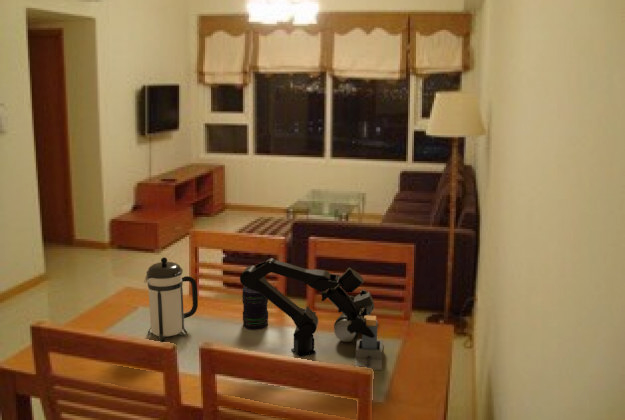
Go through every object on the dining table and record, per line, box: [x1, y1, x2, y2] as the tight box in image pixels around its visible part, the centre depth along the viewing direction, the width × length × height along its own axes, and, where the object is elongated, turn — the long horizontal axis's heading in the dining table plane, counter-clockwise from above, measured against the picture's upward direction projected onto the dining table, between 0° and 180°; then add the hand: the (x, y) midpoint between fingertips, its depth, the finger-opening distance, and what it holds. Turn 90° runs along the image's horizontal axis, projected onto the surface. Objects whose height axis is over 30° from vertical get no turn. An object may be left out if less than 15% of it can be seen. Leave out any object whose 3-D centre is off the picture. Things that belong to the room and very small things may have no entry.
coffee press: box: [144, 257, 199, 342], centre depth 222 cm, size 17×16×30 cm
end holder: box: [354, 338, 384, 371], centre depth 207 cm, size 9×20×4 cm, turn 173°
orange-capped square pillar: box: [361, 315, 378, 350], centre depth 206 cm, size 5×5×13 cm
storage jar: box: [241, 286, 269, 331], centre depth 232 cm, size 10×10×15 cm
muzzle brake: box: [333, 293, 375, 343], centre depth 227 cm, size 10×28×10 cm, turn 162°
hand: (373, 333), depth 205 cm, fingers open, 6 cm apart
